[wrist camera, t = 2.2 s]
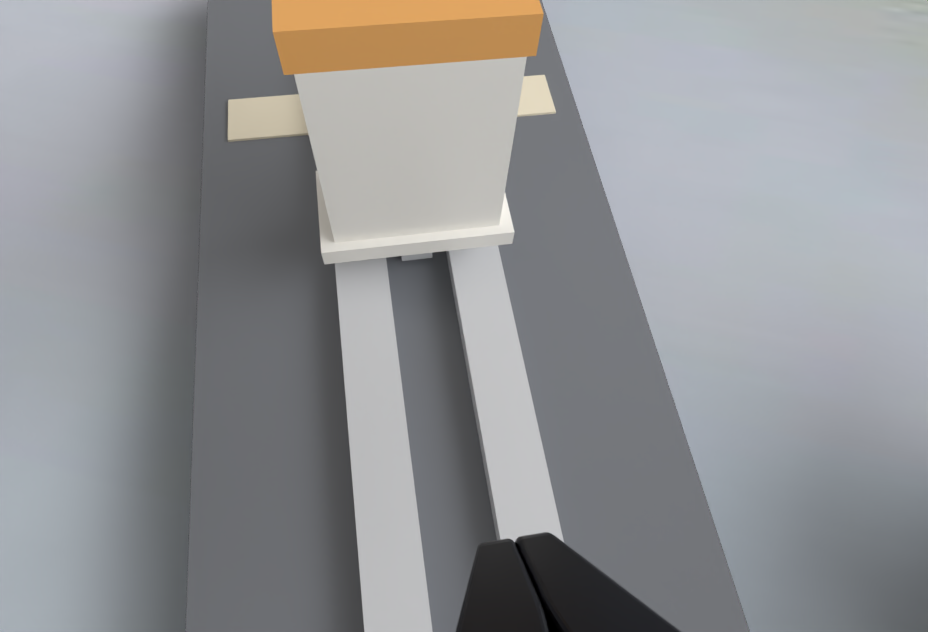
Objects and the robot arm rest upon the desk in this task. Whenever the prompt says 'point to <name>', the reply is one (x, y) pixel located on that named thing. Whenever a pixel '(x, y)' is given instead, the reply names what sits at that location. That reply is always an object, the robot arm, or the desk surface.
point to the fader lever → (409, 118)
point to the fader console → (421, 385)
